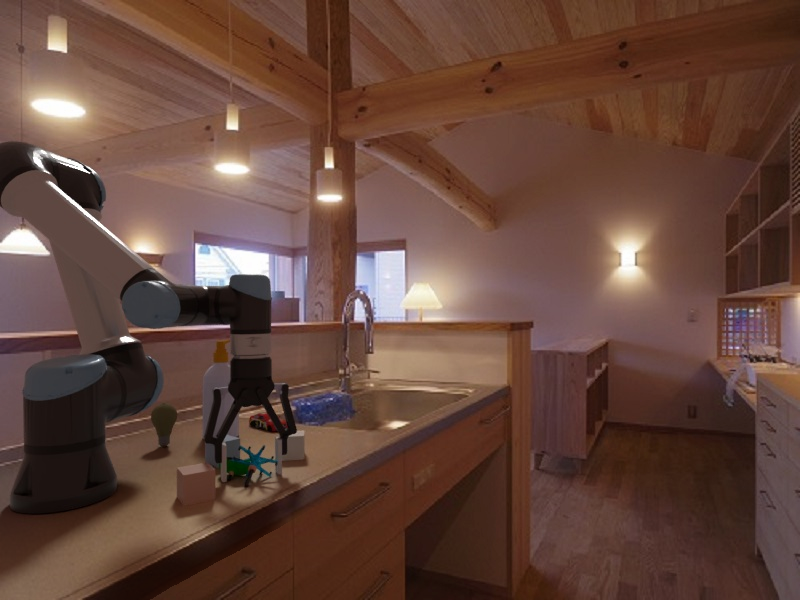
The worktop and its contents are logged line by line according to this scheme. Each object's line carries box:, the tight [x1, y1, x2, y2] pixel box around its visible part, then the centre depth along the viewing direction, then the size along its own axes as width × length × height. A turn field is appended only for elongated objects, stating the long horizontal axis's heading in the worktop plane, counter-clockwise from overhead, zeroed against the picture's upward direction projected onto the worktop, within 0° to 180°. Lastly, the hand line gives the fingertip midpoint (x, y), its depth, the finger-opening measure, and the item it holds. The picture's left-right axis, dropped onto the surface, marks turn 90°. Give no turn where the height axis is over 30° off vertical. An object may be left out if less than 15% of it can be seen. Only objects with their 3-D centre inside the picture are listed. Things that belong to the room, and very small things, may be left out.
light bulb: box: [150, 402, 178, 448], centre depth 119 cm, size 6×6×10 cm
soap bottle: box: [201, 339, 240, 440], centre depth 128 cm, size 9×9×24 cm
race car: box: [248, 411, 288, 433], centre depth 138 cm, size 13×5×4 cm, turn 47°
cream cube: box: [282, 430, 306, 462], centre depth 110 cm, size 5×5×5 cm
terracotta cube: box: [176, 462, 216, 507], centre depth 86 cm, size 5×5×5 cm
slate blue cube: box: [204, 435, 241, 469], centre depth 106 cm, size 5×5×5 cm
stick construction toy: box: [218, 444, 278, 488], centre depth 95 cm, size 12×7×8 cm
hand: (251, 475), depth 97 cm, fingers open, 9 cm apart
